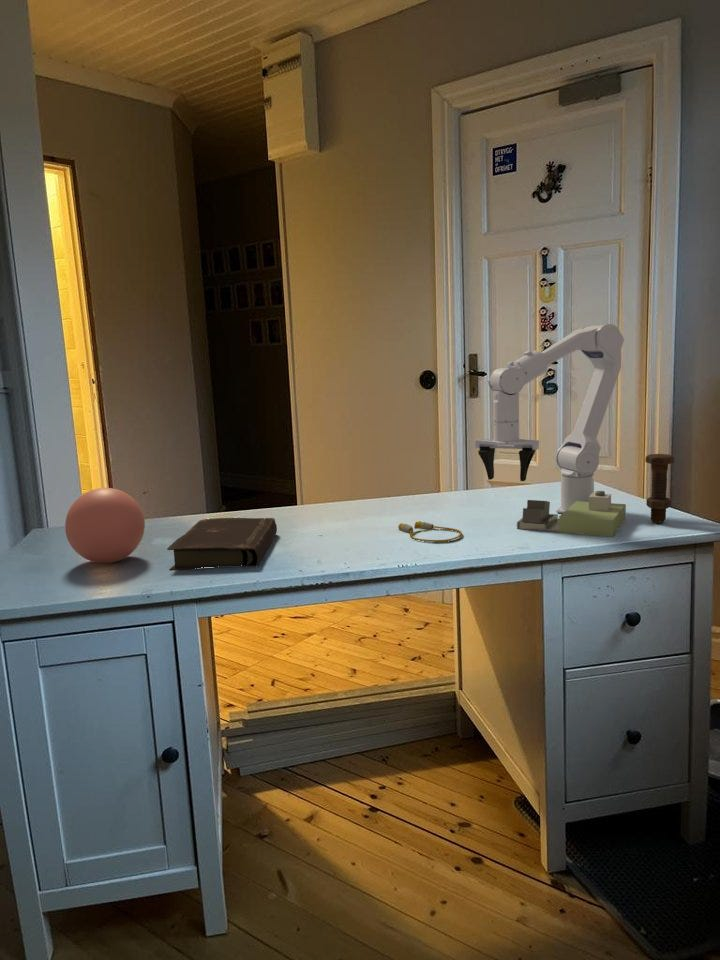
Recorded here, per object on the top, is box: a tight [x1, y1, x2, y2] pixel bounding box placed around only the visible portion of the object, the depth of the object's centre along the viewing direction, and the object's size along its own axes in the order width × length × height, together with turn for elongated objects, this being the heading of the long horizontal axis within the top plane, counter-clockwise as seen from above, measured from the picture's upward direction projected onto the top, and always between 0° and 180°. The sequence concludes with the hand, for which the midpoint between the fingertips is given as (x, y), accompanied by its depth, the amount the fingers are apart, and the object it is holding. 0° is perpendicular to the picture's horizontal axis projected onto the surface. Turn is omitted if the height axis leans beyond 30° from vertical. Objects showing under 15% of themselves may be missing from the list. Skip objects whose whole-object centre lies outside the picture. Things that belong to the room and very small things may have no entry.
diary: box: [166, 517, 278, 571], centre depth 154 cm, size 19×25×5 cm
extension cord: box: [397, 520, 463, 543], centre depth 160 cm, size 12×16×2 cm
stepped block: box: [521, 499, 551, 524], centre depth 162 cm, size 7×4×5 cm, turn 151°
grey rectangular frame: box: [516, 513, 560, 533], centre depth 163 cm, size 10×9×2 cm
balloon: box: [64, 487, 146, 564], centre depth 151 cm, size 15×20×15 cm
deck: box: [558, 490, 627, 538], centre depth 160 cm, size 16×11×7 cm
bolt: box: [645, 453, 675, 525], centre depth 159 cm, size 6×5×15 cm
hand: (506, 479), depth 168 cm, fingers open, 7 cm apart
